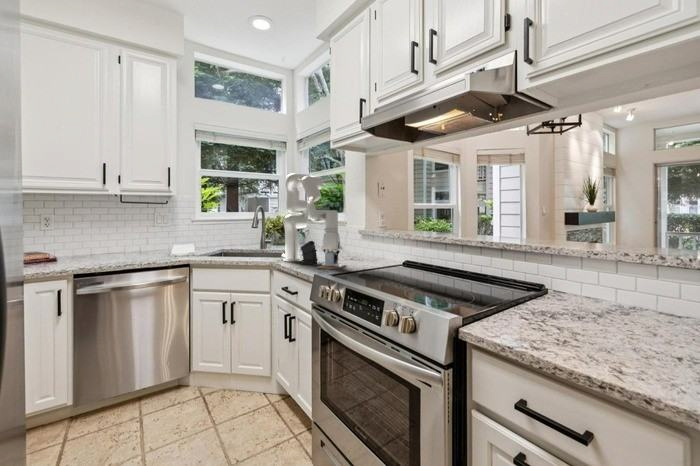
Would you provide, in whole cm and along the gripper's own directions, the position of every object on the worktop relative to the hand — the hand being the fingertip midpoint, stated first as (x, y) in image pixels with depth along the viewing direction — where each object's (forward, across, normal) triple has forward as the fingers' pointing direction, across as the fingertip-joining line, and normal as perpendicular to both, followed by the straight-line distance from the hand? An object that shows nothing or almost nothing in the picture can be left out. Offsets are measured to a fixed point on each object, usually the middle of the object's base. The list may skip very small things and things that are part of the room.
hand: (331, 260), depth 200 cm
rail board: (+4, 0, 0) cm, 4 cm away
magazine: (+4, -21, +6) cm, 22 cm away
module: (+2, 0, 0) cm, 2 cm away
